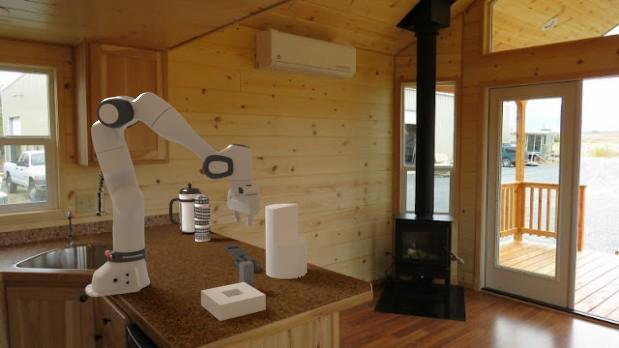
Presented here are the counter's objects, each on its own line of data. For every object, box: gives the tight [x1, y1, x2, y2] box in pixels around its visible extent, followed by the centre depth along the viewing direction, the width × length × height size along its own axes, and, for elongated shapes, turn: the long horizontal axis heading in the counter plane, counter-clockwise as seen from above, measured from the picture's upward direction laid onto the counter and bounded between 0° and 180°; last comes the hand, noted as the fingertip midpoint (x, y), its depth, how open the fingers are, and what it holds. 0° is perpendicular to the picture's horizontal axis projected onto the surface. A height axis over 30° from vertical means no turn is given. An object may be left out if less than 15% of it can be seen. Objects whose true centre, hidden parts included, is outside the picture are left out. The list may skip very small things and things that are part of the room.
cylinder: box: [264, 203, 308, 280], centre depth 185 cm, size 17×17×28 cm
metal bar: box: [238, 261, 255, 288], centre depth 165 cm, size 4×4×10 cm
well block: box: [200, 282, 267, 322], centre depth 147 cm, size 16×16×5 cm
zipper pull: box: [223, 244, 261, 273], centre depth 196 cm, size 9×7×25 cm
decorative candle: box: [194, 194, 212, 243], centre depth 245 cm, size 9×9×25 cm
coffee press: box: [168, 182, 203, 236], centre depth 263 cm, size 17×16×30 cm
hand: (243, 223), depth 165 cm, fingers open, 8 cm apart
